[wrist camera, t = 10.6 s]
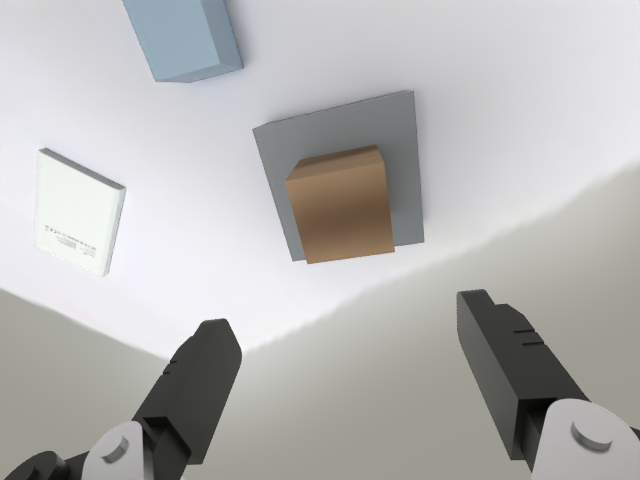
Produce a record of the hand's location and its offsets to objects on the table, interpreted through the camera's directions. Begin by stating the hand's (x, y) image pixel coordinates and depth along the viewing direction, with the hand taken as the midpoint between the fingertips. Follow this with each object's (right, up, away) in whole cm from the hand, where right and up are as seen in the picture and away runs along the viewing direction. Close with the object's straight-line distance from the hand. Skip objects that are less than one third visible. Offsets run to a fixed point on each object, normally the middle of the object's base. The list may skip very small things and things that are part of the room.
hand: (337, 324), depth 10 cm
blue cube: (-10, +19, +13) cm, 25 cm away
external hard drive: (-27, +6, +23) cm, 36 cm away
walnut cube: (+1, +7, +14) cm, 15 cm away
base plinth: (+2, +9, +17) cm, 19 cm away
